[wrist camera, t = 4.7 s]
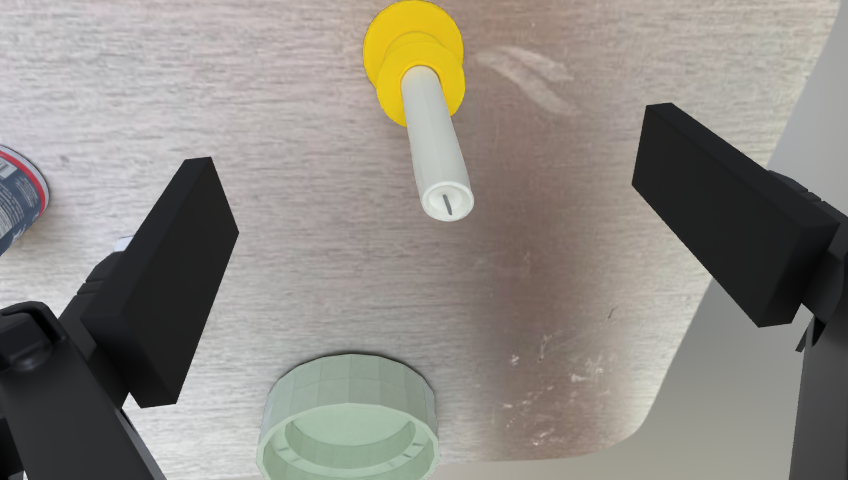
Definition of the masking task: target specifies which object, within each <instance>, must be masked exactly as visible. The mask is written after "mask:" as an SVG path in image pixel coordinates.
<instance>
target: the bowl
mask: <svg viewBox="0 0 848 480" xmlns="http://www.w3.org/2000/svg"><path fill="white" fill-rule="evenodd" d="M440 457H441V454H440V446H439V437H438V429H437V420H436V412H435V404H434V395H433V392H432V390H431V389H430V388H429V386H428V385H427V383H426V382H425V380H424V379H423V378H422V377H421V376H420V375H419V374H417V373H416V372H414V371H413V370H411V369H410V368H408V367H407V366H405V365H403V364H401V363H398V362H395V361H392V360H389V359H386V358H383V357H379V356H370V355H359V354H345V355H337V356H329V357H323V358H319V359H316V360H314V361H311V362H308V363H305V364H303V365H300V366H297V367H296V368H294V369H293V370H292V371H290V372H289V373H287V374H286V375H285V376H283V377H282V378H281V379H279V380H278V381H277V383H276V384H275V386H274V387H273V389H272V390H271V392H270V394H269V395H268V397H267V402H266V407H265V411H264V416H263V421H262V426H261V431H260V436H259V441H258V445H257V456H256V464H257V466H258V468H259V470H260V472H261V474H262V476H263V478H264V479H265V480H426V479H427V478H428V477H429V476H430V475H431V474H432V473H433V472H434V470H435V468H436V466H437V464H438V461H439V459H440Z"/></svg>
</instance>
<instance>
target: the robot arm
mask: <svg viewBox="0 0 848 480" xmlns="http://www.w3.org/2000/svg"><path fill="white" fill-rule="evenodd" d="M632 186H633V187H634V188H635V189H636V190H637V192H638V193H639V194H640V195H641V196H642V197H643V198H644V199H645V201H646V202H647V203H648V204H649V205H650V206H651V207H652V208H653V210H654V211H655V212H656V213H657V214H658V215H659V216H660V217H661V219H662V220H663V221H664V222H665V223H666V224H667V225H668V226H669V228H670V229H671V230H672V231H673V232H674V233H675V234H676V235H677V237H678V238H679V239H680V240H681V241H682V242H683V243H684V244H685V246H686V247H687V248H688V249H689V250H690V251H691V252H692V253H693V255H694V256H695V257H696V258H697V259H698V260H699V261H700V262H701V264H702V265H703V266H704V267H705V268H706V269H707V270H708V271H709V273H710V274H711V275H712V276H713V277H714V278H715V279H716V280H717V282H718V283H719V284H720V285H721V286H722V287H723V288H724V289H725V291H726V292H727V293H728V294H729V295H730V296H731V297H732V298H733V300H734V301H735V302H736V303H737V304H738V305H739V306H740V307H741V309H742V310H743V311H744V312H745V313H746V314H747V315H748V316H749V318H750V319H751V320H752V321H753V322H754V323H755V324H756V325H757V327H759V328H760V327H767V326H775V325H783V324H790V323H792V321H793V319H794V317H795V314H796V313H797V311H798V309H799V307H800V305H801V303H802V304H803V305H804V306H806V307H807V308H808V309H809V310H810V311H811V312H812V313H813V314H814V316H813V318H812V319H811V322H810V323H809V325H808V327H807V329H806V331H805V333H804V335H803V337H802V339H801V340H800V343H799V344H798V346H797V348H796V350H795V351H798V352H802V350H803V349H804V347H805V352H804V360H803V369H802V376H801V384H800V392H799V401H798V409H797V417H796V426H795V434H794V442H793V450H792V458H791V466H790V475H789V480H848V217H847V216H846V215H844V214H843V213H841V212H840V211H838V210H837V209H835V208H834V207H833V206H831V205H830V204H828V203H827V202H825V201H821V198H819V197H818V196H816V195H815V194H814V193H812V192H808V189H806V188H805V187H803V186H802V185H800V184H799V183H798V182H796V181H795V180H793V179H791V178H789V177H786V176H784V175H781V174H779V173H776V172H774V171H771V170H769V171H767V170H766V169H764V168H763V167H761V166H760V165H758V164H757V163H756V162H754V161H753V160H751V159H750V158H749V157H747V156H746V155H744V154H743V153H742V152H740V151H739V150H737V149H736V148H734V147H733V146H732V145H730V144H729V143H727V142H726V141H725V140H723V139H722V138H720V137H719V136H718V135H716V134H715V133H713V132H712V131H710V130H709V129H708V128H706V127H705V126H703V125H702V124H701V123H699V122H698V121H696V120H695V119H694V118H692V117H691V116H689V115H688V114H687V113H685V112H684V111H682V110H681V109H679V108H678V107H677V106H675V105H674V104H672V103H662V104H654V105H646V109H645V115H644V120H643V125H642V131H641V136H640V142H639V147H638V152H637V158H636V163H635V169H634V174H633V179H632ZM238 234H239V231H238V228H237V225H236V223H235V220H234V217H233V215H232V212H231V209H230V207H229V204H228V201H227V198H226V196H225V193H224V190H223V188H222V185H221V182H220V180H219V177H218V174H217V171H216V169H215V166H214V163H213V161H212V158H211V157H203V158H194V159H186V160H184V162H183V163H182V165H181V166H180V168H179V169H178V171H177V172H176V174H175V175H174V177H173V178H172V180H171V181H170V183H169V184H168V186H167V187H166V189H165V190H164V192H163V193H162V195H161V196H160V198H159V199H158V201H157V202H156V204H155V205H154V207H153V208H152V210H151V211H150V213H149V214H148V216H147V217H146V219H145V220H144V222H143V223H142V225H141V226H140V228H139V229H138V231H137V232H136V234H135V235H134V237H133V238H132V240H131V241H130V243H129V244H128V246H127V247H126V249H125V250H124V251H116V252H113V253H111V254H110V255H109V256H108V257H106V258H105V259H104V260H103V261H101V262H100V263H99V264H98V265H96V266H95V268H94V269H93V271H92V272H91V273H90V275H89V276H88V278H87V279H86V280H85V281H86V283H83V285H82V286H81V287H80V289H79V290H78V292H77V295H75V296H74V297H73V299H72V300H71V301H70V303H69V304H68V306H67V307H66V308H65V310H64V311H63V313H62V314H61V315H60V317H59V318H58V319H57V318H56V317H55V315H54V314H53V312H52V311H51V310H50V308H49V307H48V306H47V305H46V304H44V303H43V302H37V301H28V302H23V303H17V304H14V305H11V306H9V307H6V308H4V309H1V310H0V480H23V474H24V470H25V473H26V475H27V478H28V480H167V479H166V478H165V476H164V474H163V473H162V471H161V470H160V468H159V466H158V465H157V463H156V461H155V460H154V458H153V456H152V455H151V453H150V452H149V450H148V448H147V447H146V445H145V443H144V442H143V440H142V439H141V437H140V435H139V434H138V432H137V430H136V429H135V427H134V426H133V424H132V422H131V421H130V419H129V417H128V416H127V415H126V413H125V412H124V410H123V409H122V406H123V404H124V402H125V400H126V398H127V395H128V393H129V392H130V393H131V395H132V396H133V398H134V399H135V401H136V402H137V404H138V405H139V407H140V408H148V407H156V406H163V405H171V404H176V403H177V400H178V397H179V394H180V392H181V389H182V386H183V384H184V381H185V378H186V375H187V373H188V370H189V367H190V365H191V362H192V359H193V356H194V354H195V351H196V348H197V346H198V343H199V340H200V337H201V335H202V332H203V329H204V327H205V324H206V321H207V318H208V316H209V313H210V310H211V308H212V305H213V302H214V299H215V297H216V294H217V291H218V289H219V286H220V283H221V281H222V278H223V275H224V272H225V270H226V267H227V264H228V262H229V259H230V256H231V253H232V251H233V248H234V245H235V243H236V240H237V237H238Z"/></svg>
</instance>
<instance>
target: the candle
mask: <svg viewBox="0 0 848 480" xmlns="http://www.w3.org/2000/svg"><path fill="white" fill-rule="evenodd" d="M463 56H464V46H463V42H462V37H461V33H460V31H459V30H458V28H457V26H456V24H455V22H454V20H453V19H452V18H451V17H450V16H449V15H448V14H447V13H446V12H445V11H444V10H443V9H442V8H440V7H438V6H436V5H435V4H433V3H431V2H427V1H423V0H402V1H400V2H397V3H394V4H391V5H389V6H388V7H387V8H385V9H384V10H382V11H381V12H380V13H379V14H378V15H377V16H376V17H375V19H374V20H373V21H372V22H371V24H370V26H369V28H368V30H367V33H366V35H365V39H364V45H363V61H364V67H365V70H366V72H367V75H368V78H369V79H370V81H371V82H372V84H373V85H374V87H375V88H376V89H377V96H378V99H379V102H380V105H381V107H382V108H383V110H384V111H385V113H386V114H387V115H388V116H389V117H390V118H391V119H392V120H393V121H395V122H396V123H398V124H400V125H402V126H404V127H406V128H407V130H408V137H409V143H410V150H411V156H412V162H413V169H414V175H415V180H416V184H417V188H418V192H419V196H420V201H421V204H422V207H423V209H424V210H425V212H426V213H427V214H428V215H429V216H431V217H432V218H435V219H437V220H441V221H455V220H459V219H461V218H463V217H465V216H466V215H468V214H469V212H470V211H471V210H472V208H473V205H474V197H473V194H472V191H471V186H470V182H469V177H468V173H467V169H466V166H465V163H464V159H463V156H462V153H461V150H460V147H459V143H458V140H457V137H456V134H455V130H454V127H453V124H452V121H451V116H452V115H453V114H454V113H455V112H456V111H457V109H458V107H459V106H460V104H461V102H462V99H463V96H464V92H465V77H464V73H463V69H462V64H463Z"/></svg>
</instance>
